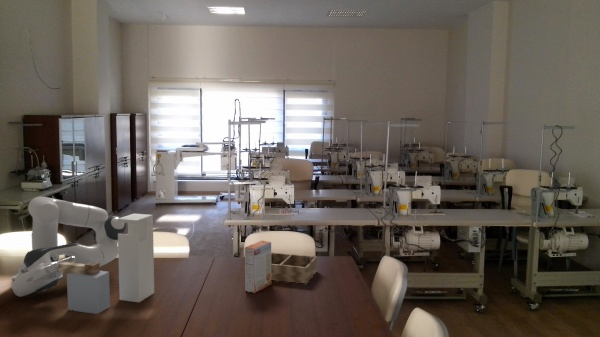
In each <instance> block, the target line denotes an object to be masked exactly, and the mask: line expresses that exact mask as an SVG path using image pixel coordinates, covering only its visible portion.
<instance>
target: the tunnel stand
mask: <svg viewBox="0 0 600 337" xmlns="http://www.w3.org/2000/svg"><path fill="white" fill-rule="evenodd" d="M120 217H121V216H120ZM117 221H118V222H120V223H126V224H127V233H124V234H118V242H117V246H118V256H117V257H118V284H119V285H118V286H119V288H118V289H119V290H118V292H119V301H126V302H131V303H132V302H134V303H140V302H142V301H144V300H145V299H147V298H149V297H151V296H152V295H154V294H155V265H154V264H155V263H154V262H155V260H154V256H155V255H154V254H155V252H154V214H148V213H147V214H146V213H145V214H144V213H131V214H129V215H126V216H122V217H121V218H118V219H117Z"/></svg>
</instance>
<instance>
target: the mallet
mask: <svg viewBox="0 0 600 337" xmlns="http://www.w3.org/2000/svg"><path fill="white" fill-rule="evenodd" d="M59 264H60V266H59V267H57V271H64V272H66V273H71V272H72V273H81V274H86V275H95V274H97V273H100V271H101V270H100V267H101V266H99V263H95V262H90V263H88V264H79V263H77V262H75V263H70V262H60V263H59ZM64 272H63V273H64Z"/></svg>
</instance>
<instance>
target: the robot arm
mask: <svg viewBox="0 0 600 337" xmlns="http://www.w3.org/2000/svg"><path fill="white" fill-rule="evenodd" d="M27 208H28V209H27V210H28V213H29V215H30V217H32V232H31V248H32V249H31V250H30V251H27V252H26V253H25V256H24V259H23V262H22V263H21V264H19V266H18V268H17V269H18V270H17V273H16V274H15V275H13V276H12V280H13V281H12V284H11V290H12V292H13V293H14V294H15V296H18V297H20V298H21V297H22V298H23V297H25V296H28V295H31V294H32V293H34V292H35V293H44V292H47V291H48V290H49V289H51V288H53V287H55V286H57V285H58V283H59V280H60V279H61V278H63V274H64V271H57V267H59V266H60V264H59V263H60V262H70V263H79V264H88V263H90V262H95V263H99V266H100V267H102V266H105V265H106V264H108V263H110V262H112V261H113V260H114V259H115V260H116V258H117V257H118V234H125V232H126V229H127V223H120V222H118V221H117V219H118V218H121V216H119V215H112V216H110V217H109V214H108V211H107V210H106V209H104V208H101V207H99V206H95V205H89V204H83V203H79V202H71V201H67V200H61V199H57V198H52V197H48V196H36V197H34V198H33V199H30V201H29V203H28V207H27ZM59 224H63V225H68V226H74V227H82V228H90V229H92V230H93V231H92V236H93V244H91V245H84V244H82V243H80V242H73V243H67V244H62V245H58V239H59V238H58V229H59V228H58V227H59ZM60 256H68V257H66V258H62V259H61V260H60V259H59V258H60Z"/></svg>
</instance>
